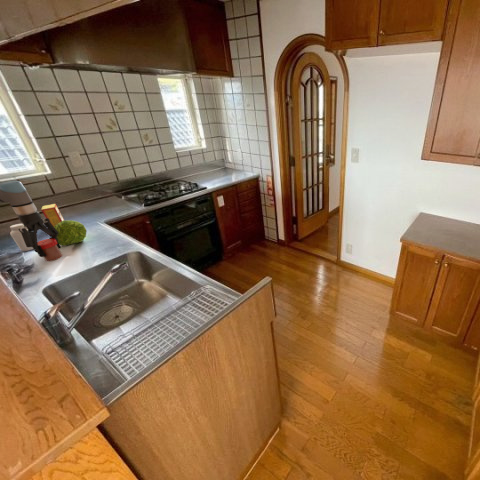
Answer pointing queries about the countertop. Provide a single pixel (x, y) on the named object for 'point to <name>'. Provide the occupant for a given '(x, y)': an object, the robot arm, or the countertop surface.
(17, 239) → the pill bottle
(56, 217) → the baking soda box
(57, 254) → the jar
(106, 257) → the countertop surface
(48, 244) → the cap
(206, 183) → the countertop surface
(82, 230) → the lettuce
